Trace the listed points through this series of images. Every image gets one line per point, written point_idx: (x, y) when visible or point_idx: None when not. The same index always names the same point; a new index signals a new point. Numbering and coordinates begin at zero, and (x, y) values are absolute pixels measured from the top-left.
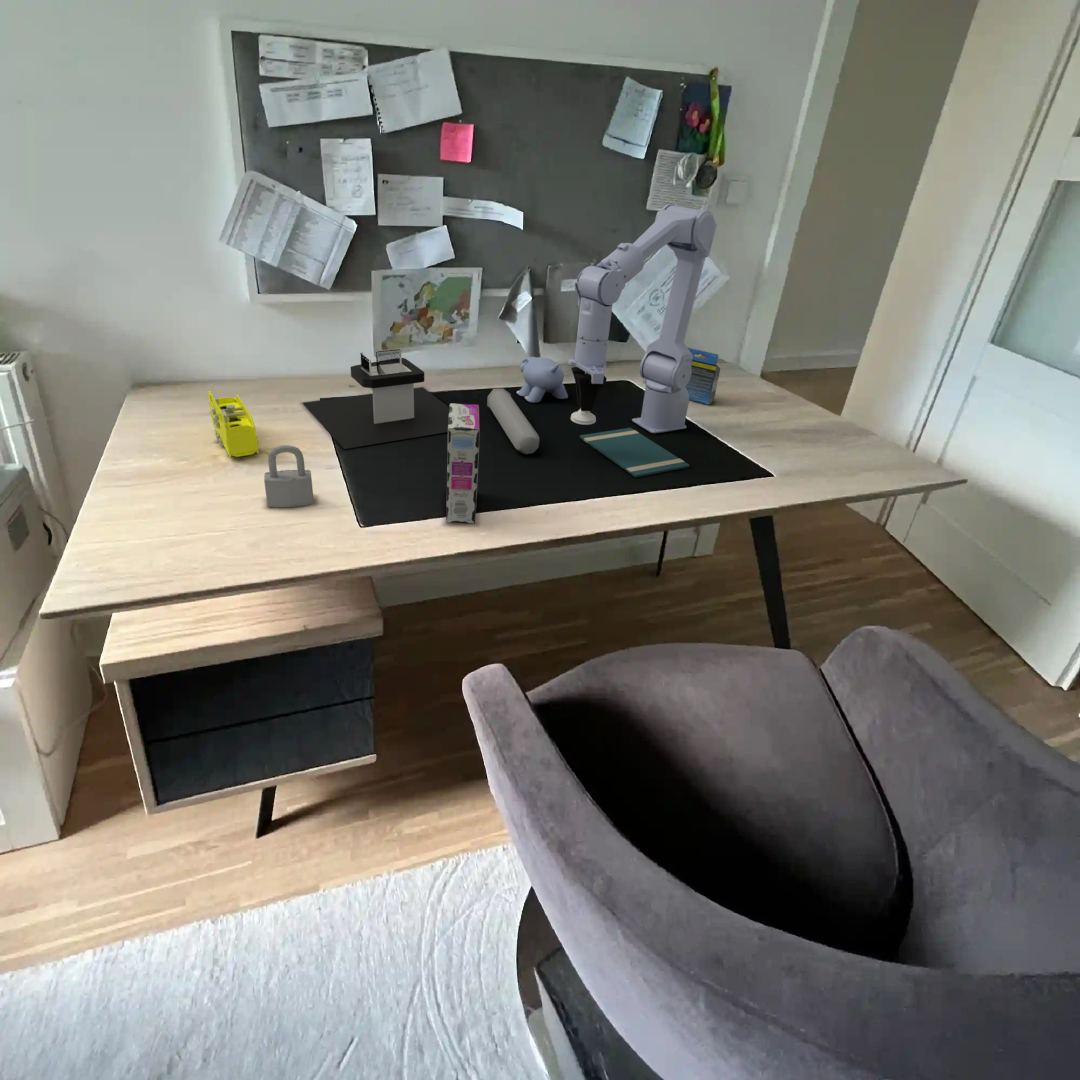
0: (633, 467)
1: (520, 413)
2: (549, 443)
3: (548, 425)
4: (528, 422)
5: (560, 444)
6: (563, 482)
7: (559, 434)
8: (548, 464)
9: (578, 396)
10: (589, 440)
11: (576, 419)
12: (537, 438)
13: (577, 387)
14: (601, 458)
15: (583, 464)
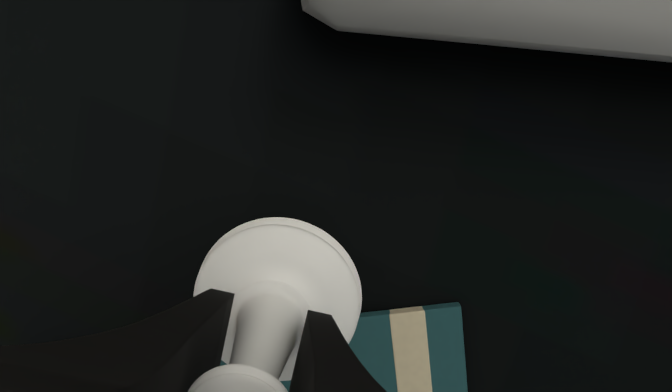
0: None
1: (661, 15)
2: (435, 138)
3: (639, 219)
4: (542, 33)
5: (410, 185)
6: (17, 29)
7: (520, 227)
8: (210, 36)
9: (309, 339)
10: (393, 324)
11: (231, 237)
12: (317, 2)
13: (312, 372)
14: None
15: (182, 198)
